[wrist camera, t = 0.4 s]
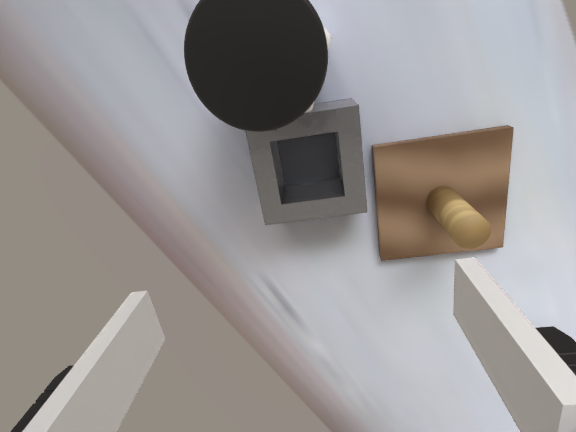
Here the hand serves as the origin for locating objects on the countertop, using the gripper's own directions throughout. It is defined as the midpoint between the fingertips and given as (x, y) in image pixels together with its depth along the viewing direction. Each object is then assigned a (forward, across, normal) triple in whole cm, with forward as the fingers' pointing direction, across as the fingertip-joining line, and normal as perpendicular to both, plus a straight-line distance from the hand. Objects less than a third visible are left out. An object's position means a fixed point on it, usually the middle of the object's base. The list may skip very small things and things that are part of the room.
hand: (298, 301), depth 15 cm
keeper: (+21, +13, -5) cm, 25 cm away
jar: (+21, -1, +10) cm, 23 cm away
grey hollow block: (+21, 0, +1) cm, 21 cm away
